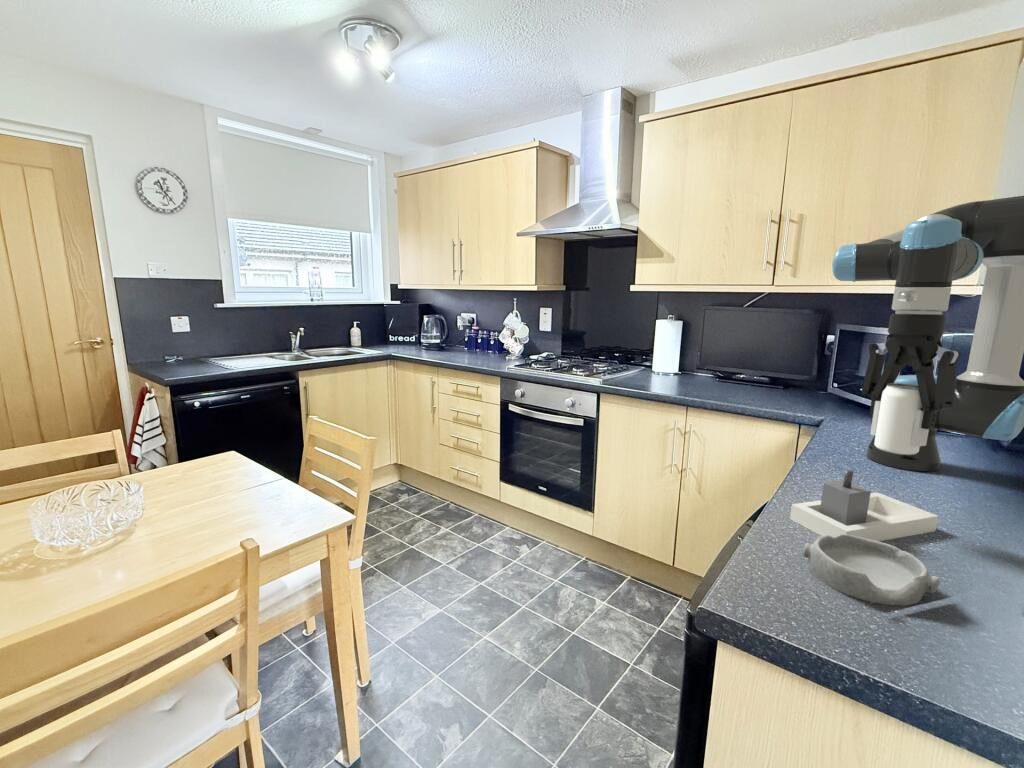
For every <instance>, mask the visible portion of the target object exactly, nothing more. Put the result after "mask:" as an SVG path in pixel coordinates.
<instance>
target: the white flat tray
mask: <svg viewBox="0 0 1024 768" xmlns="http://www.w3.org/2000/svg"><path fill="white" fill-rule="evenodd" d="M820 506H821V500H813V501H806V502H800V503H792V504H791V508H790V517H789V519H790V520H792V522H795V523H796V524H799V525H800V526H803V527H805V528H807V529H808V530H810V531H812V532H814V533H816V534H818V535H820V537H822V536H825V535H829V536H831V537H832V536H836V535H840V534H848V535H853V536H858V537H862V538H866V539H870V540H875V541H879V542H883V541H888V540H894V539H899V538H905V537H910V536H915V535H921V534H927V533H932V532H936V530H937V525H938V521H939V515H937V514H934V513H931V512H929V511H926V510H924V509H921V508H919V507H916V506H913V505H912V504H909V503H906V502H903V501H902V500H898V499H895V498H893V497H891V496H888V495H886V494H883V493H880V492H878V491H877V492H871V493H870V500H869V506H868V512H867V519H866V523H862V524H856V525H850V526H846V525H844V524H842V523H840V522H838V521H836V520H834V519H832V518H830V517H828V516H825V515H823V514H821V513H820Z"/></svg>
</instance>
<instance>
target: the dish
mask: <svg viewBox="0 0 1024 768" xmlns="http://www.w3.org/2000/svg"><path fill="white" fill-rule="evenodd" d="M802 555H803V557H804V558H806V559H808V567H809V568H808V569H809V571H811V573H812V574H813V576H814V577H816V578H817V579H818V580H819V581H821V582H822V583H823V584H824V585H826V586H828V587H830V588H832V589H834V590H836V591H837V592H840V593H842V594H844V595H847V596H848V597H849V596H850V597H852V598H856V599H857V600H858V599H859V600H862V601H865V602H869V603H875V604H880V605H889V606H910V605H915V604H918V603H919V602H920V601H921V600H923V599H922V598H923V596H924V595H925V594H926V592H928V593H932V594H933V593H934V594H935V593H936V591H937V590H938V588H939V585H940V579H939V577H938V576H934V575H931V574H930V573H929V571H928V568H927V567H926V565H925V564H924V563H923V561H921V560H920V559H919V558H917V557H916V556H915V555H913V554H912V553H910V552H908V551H905V550H901V549H900V548H898V547H897V546H894V545H892V544H889V543H886V542H885V543H884V542H883V541H875V540H870V539H866V538H862V537H858V536H853V535H848V534H840V535H836V536H832V537H831V536H829V535H825V536H820V537H818V538H817V539H815V541H814V542H813V543H809V542H807V543H805V545H804V547H803V550H802Z"/></svg>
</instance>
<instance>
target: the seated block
mask: <svg viewBox="0 0 1024 768" xmlns="http://www.w3.org/2000/svg"><path fill="white" fill-rule="evenodd" d="M843 476H844V477H843V480H838V481H831V482H824V483H823V486H822V493H821V506H820V513H821V514H823V515H825V516H828V517H830V518H832V519H834V520H836V521H838V522H840V523H842V524H844V525H846V526H850V525H856V524H862V523H866V519H867V512H868V506H869V500H870V493H872V492H871V490H870V489H867V488H864V487H862V486H860V485H858V484H857V485H856V484H854V483H853V477H854V471H853V470H850V469H845V470H844V475H843Z"/></svg>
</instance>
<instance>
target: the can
mask: <svg viewBox="0 0 1024 768" xmlns="http://www.w3.org/2000/svg"><path fill="white" fill-rule="evenodd" d="M886 385H887V387H886V388H885V389H884V391H883V392H882V397H881V403H880V409H879V416H878V422H877V429H876V435H874V436H875V442H874V445H875V446H876V448H877V449H879V450H882V451H885V452H889V453H893V454H900V455H915V454H916V453H918V452H919V448H920V446H918V447H914V446H911V440H912V434H913V428H914V423H915V417H916V411H917V410H919V409H920V408H922V403H921V398H920V393H919V388H918V385H911V384H900V383H889V384H886Z"/></svg>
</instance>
